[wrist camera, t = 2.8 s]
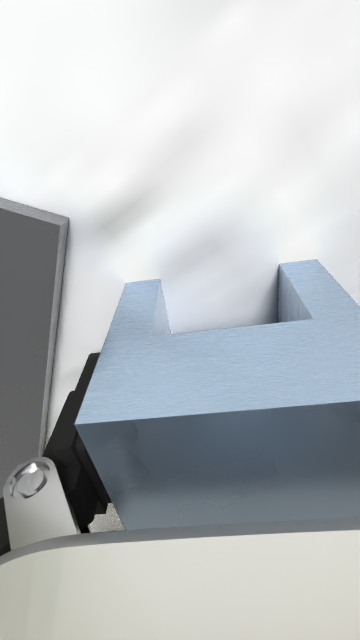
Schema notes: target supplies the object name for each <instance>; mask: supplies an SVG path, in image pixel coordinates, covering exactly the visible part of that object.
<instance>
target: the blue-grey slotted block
mask: <svg viewBox="0 0 360 640" xmlns="http://www.w3.org/2000/svg"><path fill="white" fill-rule="evenodd" d="M74 425H75V427H76V429H77V431H78V433H79V435H80V437H81V439H82V441H83V443H84V445H85V447H86V449H87V451H88V454H89V456H90V458H91V460H92V462H93V464H94V466H95V468H96V470H97V472H98V474H99V476H100V478H101V480H102V482H103V484H104V486H105V489H106V491H107V493H108V495H109V497H110V499H111V501H112V503H113V505H114V507H115V509H116V511H117V513H118V515H119V517H120V519H121V522H122V524H123V526H124V528H125V530H136V529H153V528H170V527H187V526H204V525H222V524H240V523H259V522H278V521H296V520H316V519H336V518H357V517H360V307H359V306H358V305H357V303H356V302H355V301H354V300H353V299H352V298H351V297H350V296H349V295H348V293H347V292H346V291H345V290H344V289H343V288H342V287H341V286H340V285H339V284H338V282H337V281H336V280H335V279H334V278H333V277H332V276H331V275H330V274H329V273H328V271H327V270H326V269H325V268H324V267H323V266H322V265H321V264H320V263H319V261H318V260H317V259H316V260H308V261H300V262H291V263H283V264H279V292H278V323H272V324H263V325H253V326H244V327H235V328H225V329H216V330H207V331H197V332H188V333H179V334H171V332H170V327H169V321H168V316H167V311H166V306H165V301H164V296H163V291H162V285H161V280H160V279H154V280H146V281H138V282H130V283H126V285H125V287H124V290H123V293H122V295H121V298H120V301H119V304H118V306H117V309H116V312H115V315H114V317H113V320H112V323H111V326H110V328H109V331H108V334H107V337H106V339H105V342H104V345H103V347H102V350H101V353H100V356H99V358H98V361H97V364H96V367H95V369H94V372H93V375H92V378H91V380H90V383H89V386H88V389H87V391H86V394H85V397H84V399H83V402H82V405H81V408H80V410H79V413H78V416H77V419H76V421H75V424H74Z"/></svg>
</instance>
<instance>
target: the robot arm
mask: <svg viewBox="0 0 360 640" xmlns="http://www.w3.org/2000/svg"><path fill="white" fill-rule="evenodd" d="M100 353H101V352H100ZM100 353H91V354H90V355H89V357H88V359H87V362H86V364H85V367H84V369H83V372H82V374H81V377H80V379H79V381H78V384H77V386H76V389H75V391H71V392H70V393H69V395H68V397H67V399H66V402H65V404H64V406H63V409H62V411H61V413H60V416H59V418H58V421H57V423H56V425H55V428H54V430H53V432H52V435H51V437H50V440H49V442H48V444H47V447H46V449H45V452H44V454H43V456H42V457H35V458H32V459H29V460H27V461H25V462H23V463H22V464H21V465H19V466H18V467H17V468H16V469H15V470H14V471H13V472H12V473H11V474H10V476H9V477H8V479H7V480H6V482H5V485H4V488H3V497H2V498H1V499H0V640H360V517H357V518H336V519H316V520H296V521H278V522H259V523H240V524H222V525H204V526H187V527H170V528H153V529H136V530H122V531H109V532H96V533H92V530H91V527H90V523H91V522H92V521H93V520H94V516H95V514H106V510H107V505H108V503H111V502H112V501H111V499H110V497H109V495H108V493H107V491H106V489H105V486H104V484H103V482H102V480H101V478H100V476H99V474H98V472H97V470H96V468H95V466H94V464H93V462H92V460H91V458H90V456H89V454H88V451H87V449H86V447H85V445H84V443H83V441H82V439H81V437H80V435H79V433H78V431H77V429H76V427H75V425H74V424H75V421H76V419H77V416H78V413H79V410H80V408H81V405H82V402H83V399H84V397H85V394H86V391H87V389H88V386H89V383H90V380H91V378H92V375H93V372H94V369H95V367H96V364H97V361H98V358H99V356H100Z"/></svg>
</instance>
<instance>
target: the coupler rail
mask: <svg viewBox="0 0 360 640" xmlns="http://www.w3.org/2000/svg"><path fill="white" fill-rule="evenodd" d="M68 223H69V218H67V217H64V216H61V215H57V214H54V213H51V212H47V211H44V210H40V209H37V208H34V207H30V206H27V205H24V204H20V203H17V202H13V201H10V200H7V199H3V198H0V499H1V498H2V497H3V488H4V485H5V482H6V480H7V479H8V477H9V476H10V474H11V473H12V472H13V471H14V470H15V469H16V468H17V467H18V466H19V465H21V464H22V463H23V462H25V461H27V460H29V459H32V458H35V457H42V456H43V451H44V442H45V432H46V423H47V414H48V405H49V396H50V387H51V378H52V369H53V360H54V350H55V341H56V332H57V323H58V314H59V305H60V296H61V287H62V278H63V268H64V259H65V250H66V241H67V232H68Z"/></svg>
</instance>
